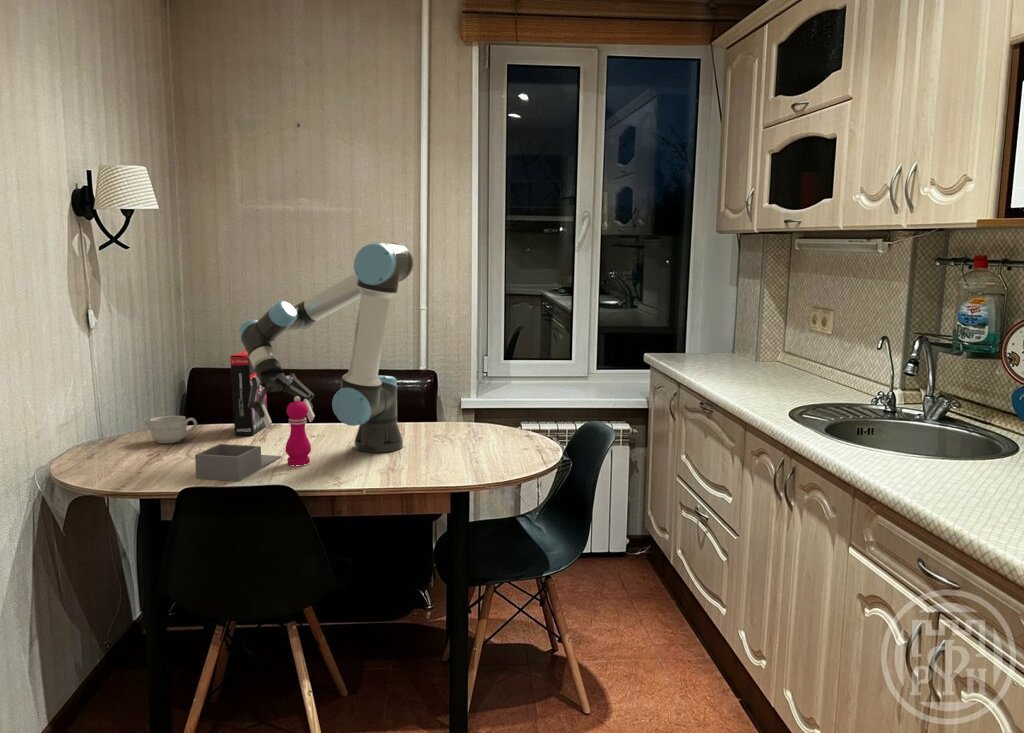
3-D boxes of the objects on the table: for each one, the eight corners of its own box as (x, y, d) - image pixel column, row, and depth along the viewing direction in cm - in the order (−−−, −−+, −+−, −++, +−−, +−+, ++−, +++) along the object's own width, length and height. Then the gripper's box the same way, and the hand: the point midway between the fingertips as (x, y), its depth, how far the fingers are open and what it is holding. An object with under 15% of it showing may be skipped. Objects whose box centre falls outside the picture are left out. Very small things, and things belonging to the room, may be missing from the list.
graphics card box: (253, 436, 268) (250, 355, 265) (232, 436, 268) (229, 355, 264) (268, 425, 285) (266, 348, 281) (248, 425, 285) (246, 348, 281)
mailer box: (281, 457, 242) (281, 436, 241) (239, 481, 217) (238, 457, 217) (242, 455, 244) (241, 434, 243) (196, 478, 220) (195, 454, 219)
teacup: (145, 445, 254) (144, 421, 253) (158, 437, 265) (157, 414, 264) (190, 445, 255) (189, 421, 254) (201, 438, 266) (200, 414, 265)
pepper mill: (289, 468, 231) (287, 399, 228) (283, 462, 237) (281, 395, 234) (314, 465, 235) (312, 397, 232) (307, 459, 241) (306, 393, 238)
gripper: (299, 369, 255) (325, 423, 246) (222, 376, 238) (246, 435, 230) (307, 354, 250) (333, 409, 242) (229, 360, 234) (254, 420, 225)
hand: (291, 422), depth 236 cm, fingers open, 13 cm apart
